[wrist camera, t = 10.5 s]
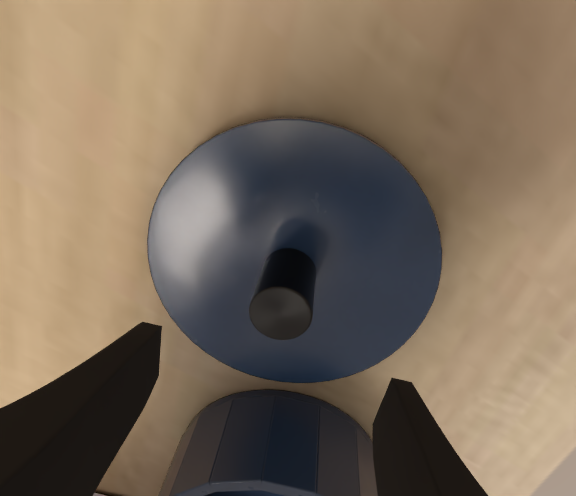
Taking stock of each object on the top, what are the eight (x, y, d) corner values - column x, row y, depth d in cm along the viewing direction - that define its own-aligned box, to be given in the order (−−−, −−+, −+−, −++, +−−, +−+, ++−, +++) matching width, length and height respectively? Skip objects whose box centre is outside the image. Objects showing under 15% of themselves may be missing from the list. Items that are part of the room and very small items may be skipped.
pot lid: (386, 391, 22) (398, 467, 18) (151, 338, 22) (109, 402, 18) (484, 153, 16) (535, 184, 12) (163, 84, 16) (106, 92, 12)
